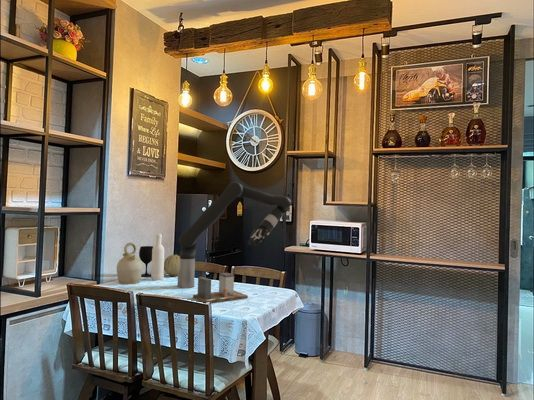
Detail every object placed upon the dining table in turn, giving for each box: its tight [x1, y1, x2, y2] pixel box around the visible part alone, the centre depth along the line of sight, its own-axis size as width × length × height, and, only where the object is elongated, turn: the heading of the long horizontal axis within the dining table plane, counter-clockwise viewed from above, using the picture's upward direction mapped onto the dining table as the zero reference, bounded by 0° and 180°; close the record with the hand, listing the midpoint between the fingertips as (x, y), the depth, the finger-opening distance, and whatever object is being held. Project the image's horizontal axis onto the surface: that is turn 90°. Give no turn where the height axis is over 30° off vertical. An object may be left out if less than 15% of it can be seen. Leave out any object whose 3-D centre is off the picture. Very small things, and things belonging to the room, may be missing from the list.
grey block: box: [218, 272, 235, 296], centre depth 218 cm, size 5×10×11 cm, turn 37°
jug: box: [116, 242, 144, 285], centre depth 250 cm, size 15×16×25 cm
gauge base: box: [192, 289, 249, 304], centre depth 216 cm, size 25×16×2 cm, turn 127°
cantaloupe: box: [164, 253, 180, 277], centre depth 277 cm, size 15×15×15 cm
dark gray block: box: [197, 276, 212, 299], centre depth 210 cm, size 3×9×10 cm, turn 37°
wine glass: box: [138, 245, 154, 278], centre depth 274 cm, size 10×10×20 cm
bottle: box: [150, 233, 165, 281], centre depth 263 cm, size 8×8×30 cm
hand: (251, 244), depth 228 cm, fingers open, 5 cm apart
